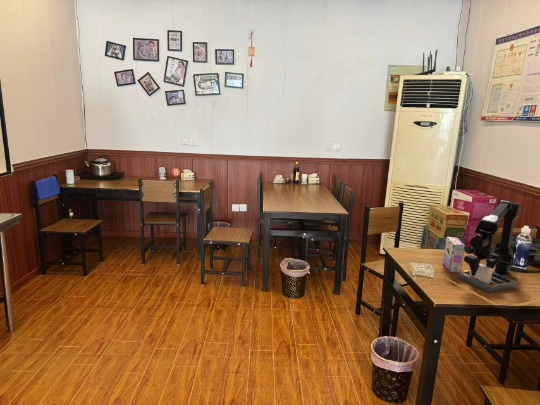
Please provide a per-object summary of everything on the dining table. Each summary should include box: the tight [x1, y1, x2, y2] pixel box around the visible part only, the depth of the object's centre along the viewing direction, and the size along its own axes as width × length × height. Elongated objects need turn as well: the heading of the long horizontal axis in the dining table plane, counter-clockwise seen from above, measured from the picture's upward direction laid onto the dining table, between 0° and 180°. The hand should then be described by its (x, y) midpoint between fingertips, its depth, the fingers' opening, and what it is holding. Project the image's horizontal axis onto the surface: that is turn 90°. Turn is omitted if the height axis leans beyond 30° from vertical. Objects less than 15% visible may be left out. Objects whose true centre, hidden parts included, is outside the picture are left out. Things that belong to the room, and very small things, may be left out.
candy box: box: [442, 236, 466, 273], centre depth 199 cm, size 14×6×16 cm, turn 168°
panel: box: [469, 262, 494, 285], centre depth 179 cm, size 2×10×10 cm, turn 20°
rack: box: [457, 269, 519, 294], centre depth 182 cm, size 19×18×5 cm
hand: (480, 274), depth 179 cm, fingers open, 9 cm apart
